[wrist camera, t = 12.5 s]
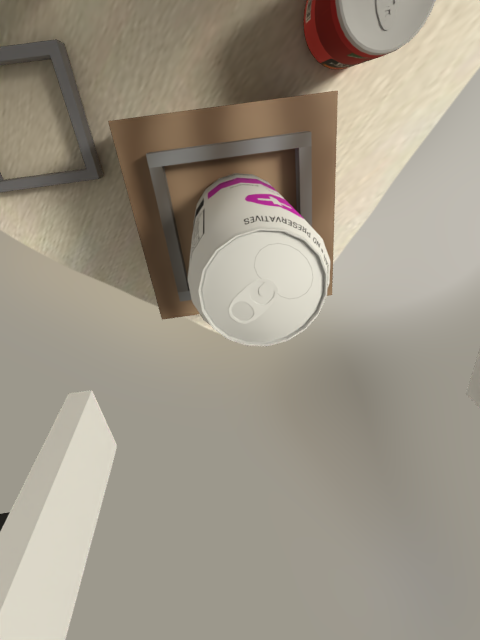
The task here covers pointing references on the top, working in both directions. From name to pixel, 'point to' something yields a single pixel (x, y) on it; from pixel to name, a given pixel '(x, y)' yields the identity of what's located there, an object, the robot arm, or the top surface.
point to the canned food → (361, 28)
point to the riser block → (223, 174)
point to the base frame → (74, 106)
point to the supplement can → (255, 263)
